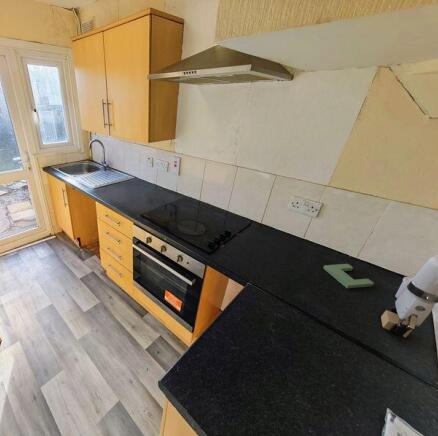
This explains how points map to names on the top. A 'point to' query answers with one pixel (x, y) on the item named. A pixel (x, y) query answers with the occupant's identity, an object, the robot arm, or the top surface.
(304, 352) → the top surface
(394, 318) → the tan block
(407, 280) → the smoothie
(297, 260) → the top surface
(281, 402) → the top surface
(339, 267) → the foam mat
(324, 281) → the top surface
